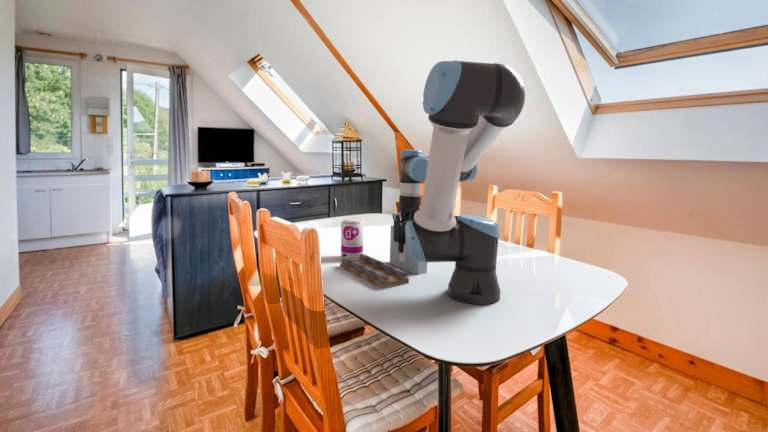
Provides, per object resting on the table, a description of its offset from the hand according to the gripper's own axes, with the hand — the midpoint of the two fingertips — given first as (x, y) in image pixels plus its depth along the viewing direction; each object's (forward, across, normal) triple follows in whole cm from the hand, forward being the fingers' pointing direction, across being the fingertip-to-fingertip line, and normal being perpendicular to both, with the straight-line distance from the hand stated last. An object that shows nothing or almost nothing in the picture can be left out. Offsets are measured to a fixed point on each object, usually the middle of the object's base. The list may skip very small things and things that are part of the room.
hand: (407, 260), depth 144 cm
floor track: (+3, +15, 0) cm, 15 cm away
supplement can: (+3, +11, -20) cm, 23 cm away
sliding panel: (+3, 0, 0) cm, 3 cm away
